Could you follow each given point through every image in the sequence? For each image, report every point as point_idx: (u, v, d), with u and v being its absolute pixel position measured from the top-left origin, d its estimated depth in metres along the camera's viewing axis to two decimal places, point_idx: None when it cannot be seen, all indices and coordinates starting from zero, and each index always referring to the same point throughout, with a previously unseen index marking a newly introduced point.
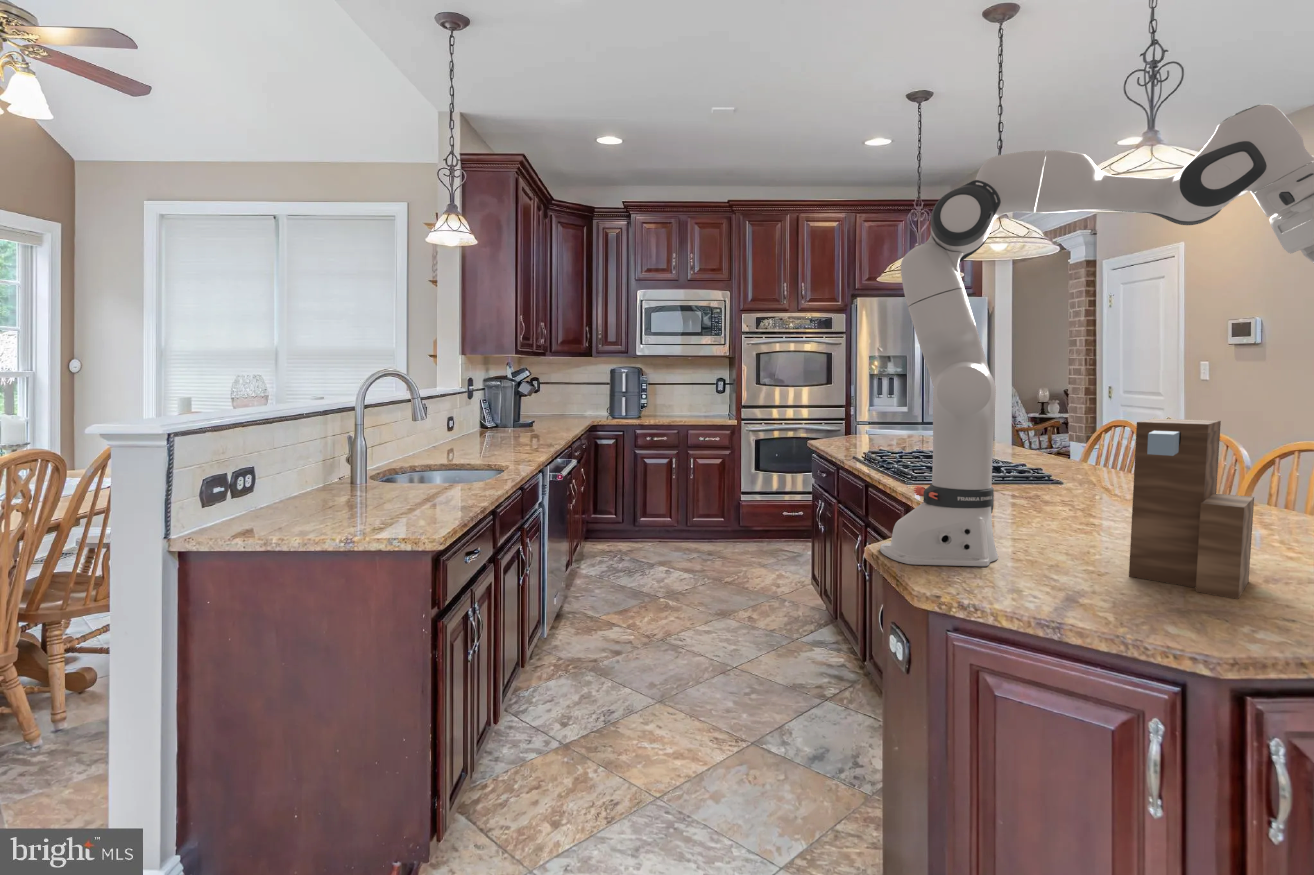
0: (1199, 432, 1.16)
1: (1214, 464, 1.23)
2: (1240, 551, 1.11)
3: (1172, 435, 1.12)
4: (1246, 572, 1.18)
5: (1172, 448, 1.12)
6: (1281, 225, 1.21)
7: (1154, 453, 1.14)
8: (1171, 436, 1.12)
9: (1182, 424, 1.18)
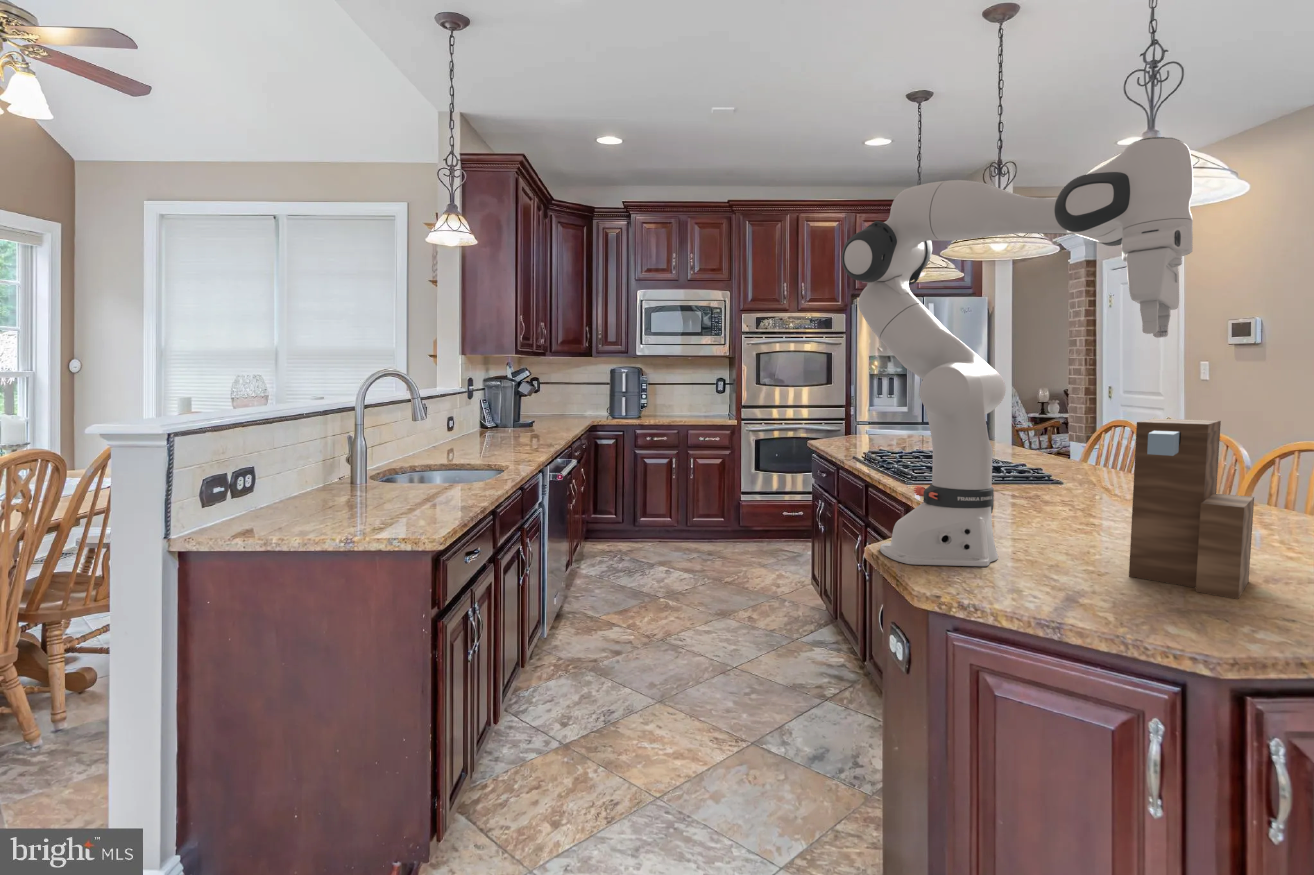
0: (1199, 432, 1.16)
1: (1214, 464, 1.23)
2: (1240, 551, 1.11)
3: (1172, 435, 1.12)
4: (1246, 572, 1.18)
5: (1172, 448, 1.12)
6: None
7: (1154, 453, 1.14)
8: (1171, 436, 1.12)
9: (1182, 424, 1.18)
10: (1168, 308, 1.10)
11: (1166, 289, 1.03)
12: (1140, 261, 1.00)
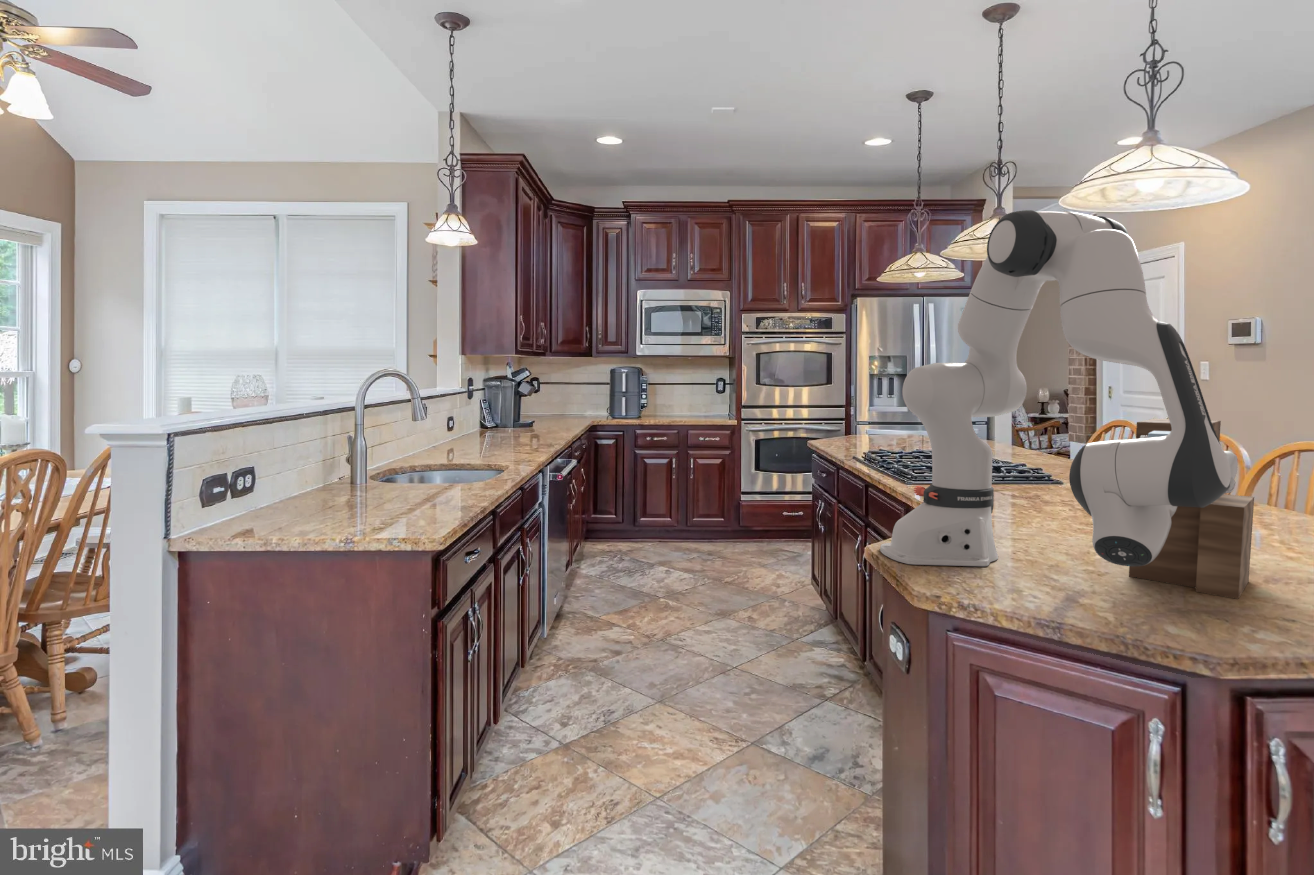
0: None
1: None
2: (1240, 551, 1.11)
3: None
4: (1246, 572, 1.18)
5: None
6: None
7: None
8: None
9: None
10: None
11: None
12: None
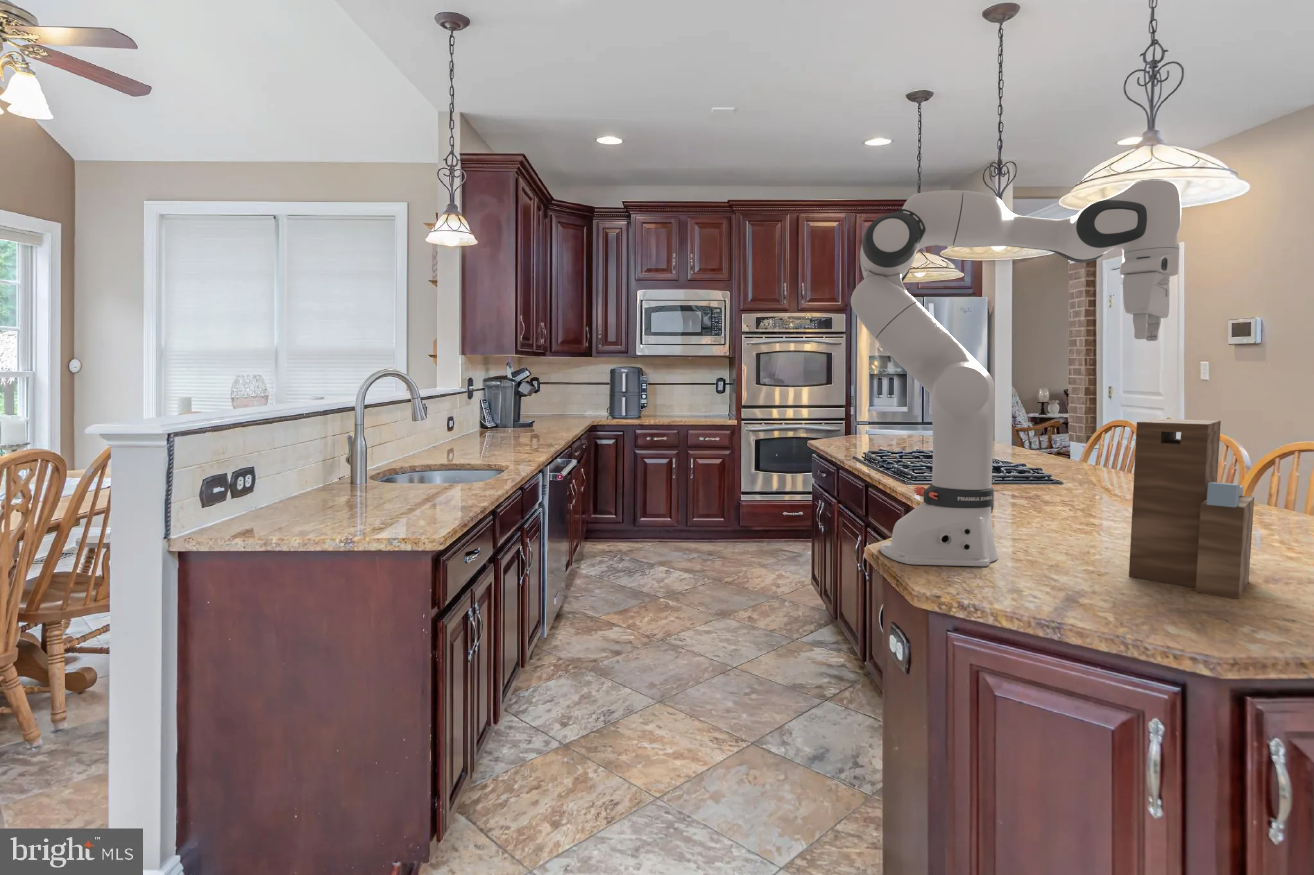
0: (1199, 432, 1.16)
1: (1214, 464, 1.23)
2: (1240, 551, 1.11)
3: (1234, 486, 1.09)
4: (1246, 572, 1.18)
5: (1234, 499, 1.09)
6: None
7: (1214, 504, 1.11)
8: (1233, 487, 1.09)
9: (1182, 424, 1.18)
10: (1159, 317, 1.36)
11: (1154, 304, 1.29)
12: (1133, 282, 1.27)
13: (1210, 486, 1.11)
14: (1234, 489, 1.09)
